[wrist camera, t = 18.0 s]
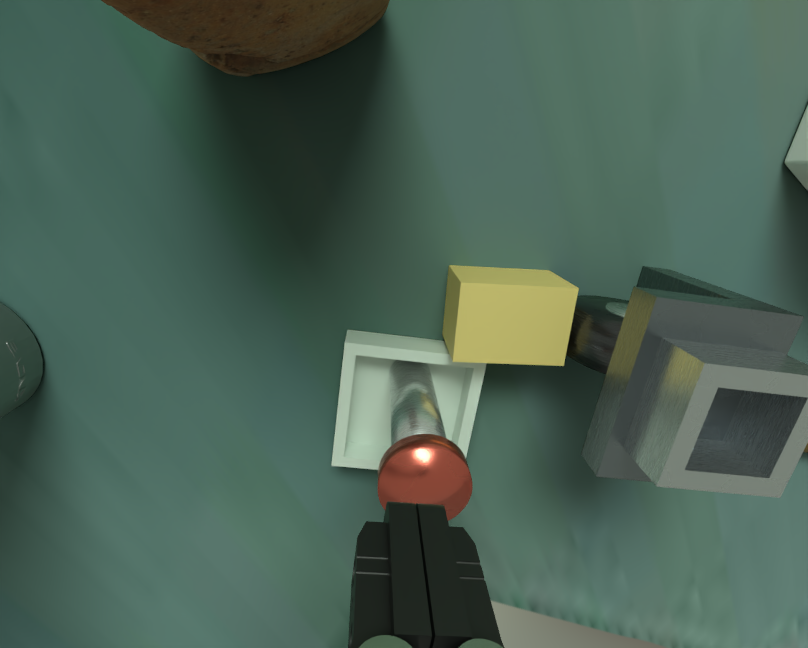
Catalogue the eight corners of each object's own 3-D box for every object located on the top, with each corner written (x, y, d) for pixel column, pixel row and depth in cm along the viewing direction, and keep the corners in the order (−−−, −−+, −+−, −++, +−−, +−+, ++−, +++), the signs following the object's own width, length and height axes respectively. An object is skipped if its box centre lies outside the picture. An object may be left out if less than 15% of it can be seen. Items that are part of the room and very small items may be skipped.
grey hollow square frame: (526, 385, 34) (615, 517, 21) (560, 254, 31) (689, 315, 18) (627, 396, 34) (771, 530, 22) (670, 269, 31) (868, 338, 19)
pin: (375, 397, 33) (372, 522, 21) (383, 342, 31) (384, 444, 20) (434, 404, 33) (462, 530, 22) (445, 349, 32) (481, 453, 20)
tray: (334, 445, 35) (331, 465, 32) (347, 329, 32) (344, 342, 29) (456, 456, 35) (461, 477, 33) (480, 344, 32) (487, 358, 30)
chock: (442, 333, 32) (452, 361, 27) (448, 264, 31) (460, 282, 26) (537, 337, 33) (563, 365, 28) (548, 270, 31) (578, 288, 26)
